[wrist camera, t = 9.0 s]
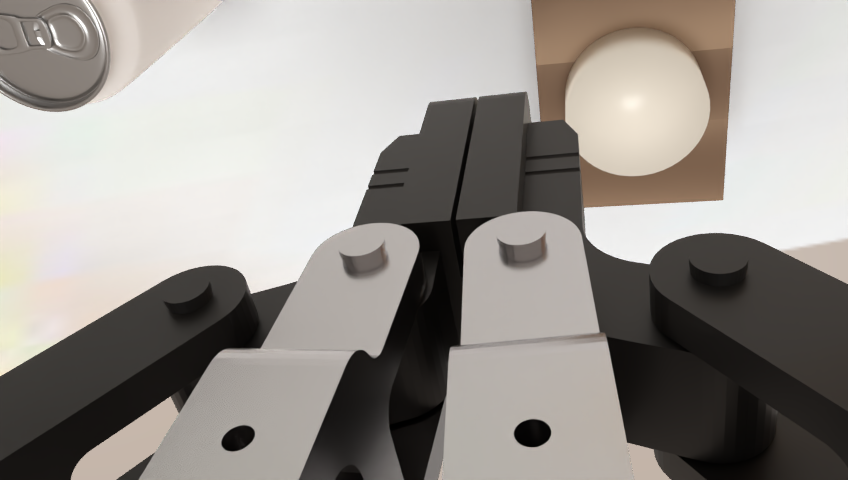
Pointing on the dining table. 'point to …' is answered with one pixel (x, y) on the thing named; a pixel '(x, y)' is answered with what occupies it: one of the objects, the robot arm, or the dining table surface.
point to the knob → (636, 102)
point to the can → (86, 46)
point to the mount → (671, 13)
